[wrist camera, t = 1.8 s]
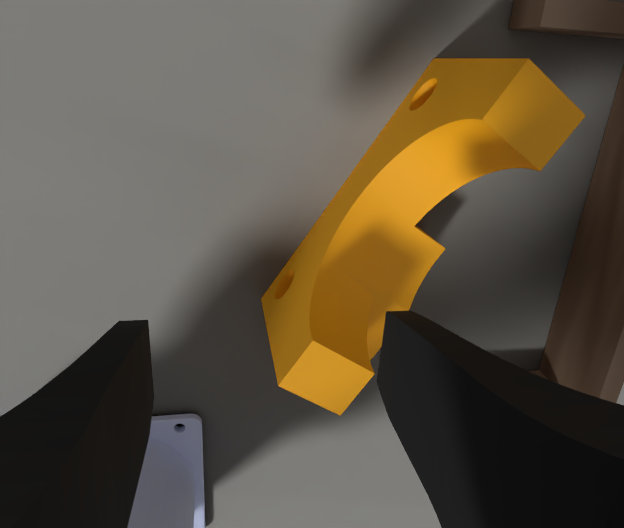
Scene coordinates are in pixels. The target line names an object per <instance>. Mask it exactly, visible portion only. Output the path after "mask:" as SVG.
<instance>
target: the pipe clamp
mask: <svg viewBox="0 0 624 528" xmlns="http://www.w3.org/2000/svg"><path fill="white" fill-rule="evenodd" d="M585 116H586V115H585V114H584V113H583V112H582V111H581V110H580V109H579V108H578V107H577V106H576V105H575V104H574V103H573V102H572V101H571V100H570V99H569V98H568V97H567V96H566V95H565V94H564V93H563V92H562V91H561V90H560V89H559V88H558V87H557V86H556V85H555V84H554V83H553V82H552V81H551V80H550V79H549V78H548V77H547V76H546V75H545V74H544V73H543V72H542V71H541V70H540V69H539V68H538V67H537V66H536V65H535V64H534V63H533V62H532V61H531V60H530V59H529V58H434V59H433V60H432V62H431V63H430V64H429V66H428V67H427V69H426V70H425V71H424V73H423V74H422V75H421V77H420V78H419V80H418V81H417V82H416V84H415V85H414V87H413V88H412V89H411V91H410V92H409V94H408V95H407V96H406V98H405V99H404V101H403V102H402V103H401V105H400V106H399V107H398V109H397V110H396V112H395V113H394V114H393V116H392V117H391V119H390V120H389V121H388V123H387V124H386V126H385V127H384V128H383V130H382V131H381V133H380V134H379V135H378V137H377V138H376V140H375V141H374V142H373V144H372V145H371V146H370V148H369V149H368V151H367V152H366V153H365V155H364V156H363V158H362V159H361V160H360V162H359V163H358V165H357V166H356V167H355V169H354V170H353V172H352V173H351V174H350V176H349V177H348V178H347V180H346V181H345V183H344V184H343V185H342V187H341V188H340V190H339V191H338V192H337V194H336V195H335V197H334V198H333V199H332V201H331V202H330V204H329V205H328V206H327V208H326V209H325V210H324V212H323V213H322V215H321V216H320V217H319V219H318V220H317V222H316V223H315V224H314V226H313V227H312V229H311V230H310V231H309V233H308V234H307V236H306V237H305V238H304V240H303V241H302V242H301V244H300V245H299V247H298V248H297V249H296V251H295V252H294V254H293V255H292V256H291V258H290V259H289V261H288V262H287V263H286V265H285V266H284V268H283V269H282V270H281V272H280V273H279V274H278V276H277V277H276V279H275V280H274V281H273V283H272V284H271V286H270V287H269V288H268V290H267V291H266V293H265V294H264V295H263V297H262V298H261V302H262V307H263V312H264V317H265V322H266V327H267V332H268V337H269V342H270V347H271V352H272V357H273V362H274V367H275V372H276V378H277V383H278V386H279V387H282V388H284V389H286V390H288V391H290V392H292V393H294V394H296V395H298V396H300V397H302V398H305V399H307V400H309V401H311V402H313V403H315V404H317V405H319V406H321V407H323V408H325V409H327V410H330V411H332V412H334V413H336V414H338V415H340V416H341V414H342V413H343V412H344V411H345V409H346V408H347V407H348V406H349V405H350V403H351V402H352V401H353V400H354V398H355V397H356V396H357V395H358V394H359V392H360V391H361V390H362V389H363V387H364V386H365V385H366V384H367V383H368V381H369V380H370V379H371V378H372V376H373V375H374V374H375V373H374V371H373V368H372V366H371V363H370V360H371V359H372V358H373V357H374V355H375V354H376V353H377V352H378V351H379V349H380V348H381V347H382V339H383V331H384V324H385V316H386V311H409V309H410V307H411V304H412V301H413V299H414V297H415V294H416V292H417V290H418V288H419V286H420V285H421V283H422V281H423V279H424V278H425V276H426V274H427V273H428V271H429V270H430V268H431V267H432V265H433V264H434V263H435V261H436V260H437V259H438V258H439V256H440V255H441V254H442V253H443V251H444V250H445V248H444V247H443V246H442V245H441V244H439V243H438V242H437V241H436V240H434V239H433V238H432V237H431V236H430V235H428V234H427V233H426V232H425V231H423V230H422V229H421V228H419V227H418V226H416V224H417V223H418V222H419V221H420V220H421V219H422V218H423V216H424V215H425V214H426V213H428V212H429V211H430V210H431V209H432V208H433V207H434V206H435V205H436V204H437V203H439V202H440V201H441V200H442V199H444V198H445V197H446V196H448V195H449V194H450V193H452V192H453V191H455V190H456V189H458V188H459V187H461V186H463V185H464V184H466V183H468V182H470V181H472V180H474V179H476V178H478V177H480V176H483V175H486V174H488V173H491V172H495V171H499V170H504V169H510V168H527V169H533V170H537V171H541V170H542V169H543V167H544V166H545V165H546V164H547V162H548V161H549V160H550V159H551V158H552V156H553V155H554V154H555V153H556V151H557V150H558V149H559V148H560V147H561V145H562V144H563V143H564V142H565V140H566V139H567V138H568V137H569V136H570V134H571V133H572V132H573V131H574V129H575V128H576V127H577V126H578V125H579V123H580V122H581V121H582V120H583V118H584V117H585Z"/></svg>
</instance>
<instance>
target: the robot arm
mask: <svg viewBox="0 0 624 528" xmlns="http://www.w3.org/2000/svg"><path fill="white" fill-rule="evenodd" d="M377 383H378V387H379V390H380V393H381V396H382V399H383V402H384V405H385V408H386V411H387V414H388V416H389V419H390V421H391V423H392V425H393V427H394V429H395V431H396V433H397V435H398V437H399V439H400V441H401V443H402V445H403V447H404V449H405V451H406V453H407V455H408V457H409V459H410V461H411V463H412V465H413V467H414V469H415V471H416V473H417V474H418V476H419V478H420V480H421V482H422V484H423V486H424V488H425V490H426V492H427V494H428V496H429V499H430V501H431V503H432V505H433V507H434V510H435V512H436V514H437V517H438V519H439V522H440V524H441V527H442V528H624V405H620V404H617V403H613V402H610V401H607V400H604V399H601V398H598V397H595V396H592V395H589V394H586V393H582V392H579V391H577V390H574V389H571V388H568V387H566V386H563V385H560V384H558V383H555V382H553V381H550V380H548V379H545V378H543V377H541V376H538V375H536V374H533V373H531V372H529V371H526V370H524V369H522V368H520V367H517V366H515V365H513V364H511V363H509V362H507V361H505V360H503V359H501V358H499V357H497V356H495V355H493V354H491V353H489V352H487V351H485V350H483V349H481V348H479V347H478V346H476V345H474V344H472V343H470V342H468V341H467V340H465V339H463V338H461V337H459V336H458V335H456V334H454V333H452V332H450V331H449V330H447V329H445V328H443V327H442V326H440V325H438V324H436V323H434V322H433V321H431V320H429V319H427V318H425V317H423V316H421V315H419V314H417V313H415V312H412V311H410V310H409V311H386V316H385V324H384V331H383V339H382V347H381V354H380V362H379V369H378V377H377ZM153 399H154V392H153V379H152V366H151V353H150V340H149V327H148V320H133V321H119V322H117V323H116V324H115V325H114V326H113V327H112V328H111V329H110V330H109V331H108V332H106V333H105V334H104V335H103V336H102V337H101V338H100V339H99V340H98V341H97V342H96V343H95V344H94V345H92V346H91V347H90V348H89V349H88V350H87V351H86V352H85V353H84V354H83V355H81V356H80V357H79V358H78V359H77V360H76V361H75V362H73V363H72V364H71V365H70V366H69V367H68V368H66V369H65V370H64V371H63V372H61V373H60V374H59V375H58V376H56V377H55V378H54V379H52V380H51V381H50V382H49V383H47V384H46V385H45V386H44V387H42V388H41V389H40V390H39V391H37V392H36V393H35V394H33V395H32V396H30V397H29V398H28V399H26V400H25V401H23V402H22V403H21V404H19V405H18V406H16V407H15V408H13V409H12V410H10V411H9V412H7V413H5V414H4V415H2V416H1V417H0V528H205V499H204V468H203V437H202V420H201V418H200V417H199V416H198V415H196V414H179V415H165V416H152V409H153ZM176 424H183V425H184V426H182V427H177V426H176Z"/></svg>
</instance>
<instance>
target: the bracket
mask: <svg viewBox="0 0 624 528" xmlns="http://www.w3.org/2000/svg"><path fill="white" fill-rule="evenodd" d="M509 30H521V31H533V32H545V33H557V34H568V35H580V36H592V37H604V38H616V39H624V2H620V1H610V0H514V4H513V9H512V15H511V20H510V25H509ZM529 372H531V373H533V374H536V375H538V376H541V377H543V378H545V379H548V380H550V381H553V382H555V383H558V384H560V385H563V386H566V387H568V388H571V389H574V390H577V391H579V392H582V393H586V394H589V395H592V396H595V397H598V398H601V399H604V400H607V401H610V402H613V403H616V402H617V399H618V396H619V394H620V391H621V388H622V385H623V382H624V65H623V69H622V72H621V76H620V80H619V83H618V87H617V90H616V94H615V98H614V101H613V105H612V108H611V112H610V115H609V119H608V123H607V126H606V130H605V133H604V137H603V141H602V144H601V148H600V151H599V155H598V159H597V162H596V166H595V169H594V173H593V177H592V180H591V184H590V187H589V191H588V195H587V198H586V202H585V205H584V209H583V213H582V216H581V220H580V223H579V227H578V231H577V234H576V238H575V241H574V245H573V249H572V252H571V256H570V259H569V263H568V267H567V270H566V274H565V277H564V281H563V285H562V288H561V292H560V295H559V299H558V303H557V306H556V310H555V313H554V317H553V321H552V324H551V328H550V331H549V335H548V339H547V342H546V346H545V349H544V353H543V357H542V360H541V364H540V367H539V370H532V371H529Z"/></svg>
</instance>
